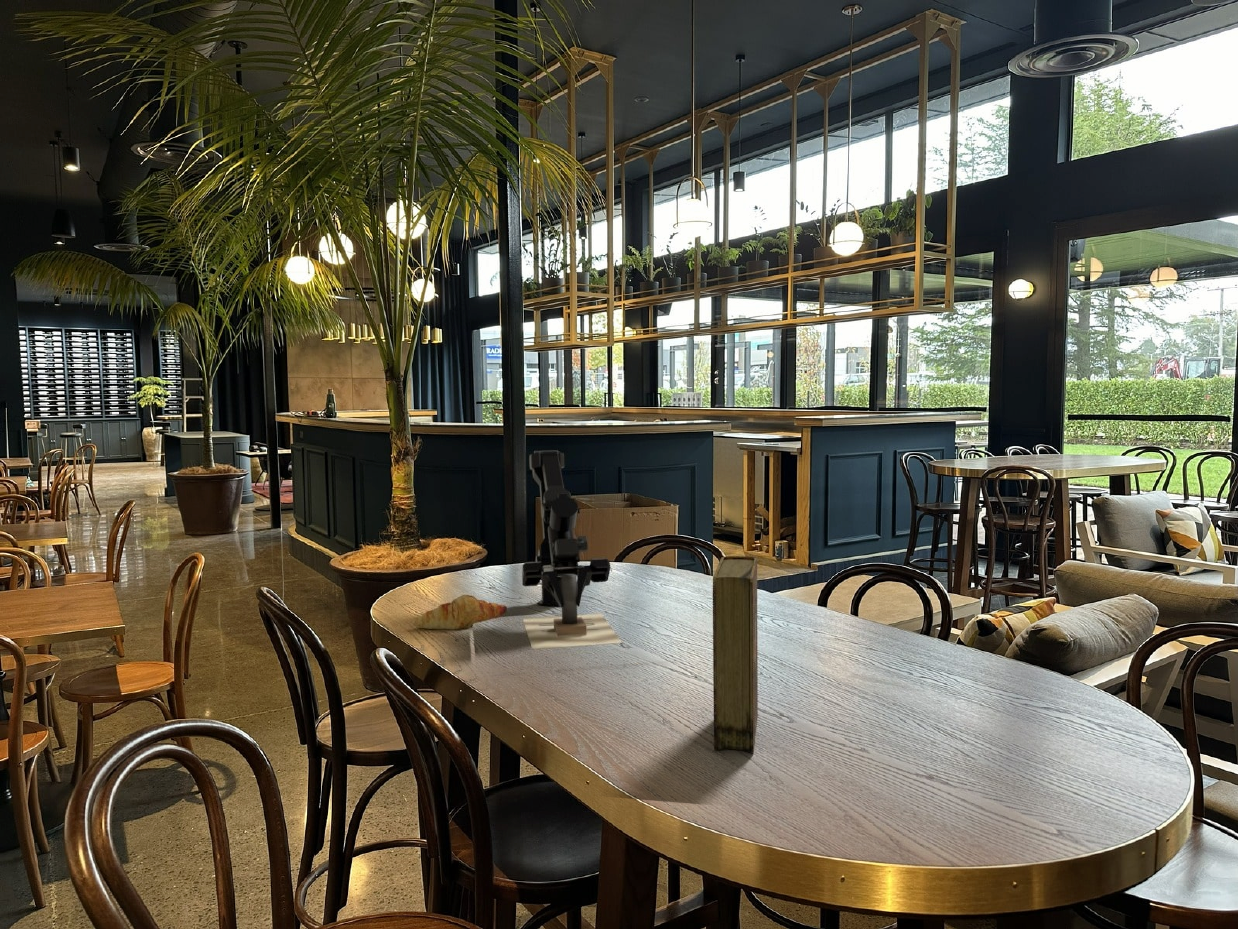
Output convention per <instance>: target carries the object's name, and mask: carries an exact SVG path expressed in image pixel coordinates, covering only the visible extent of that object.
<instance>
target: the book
mask: <svg viewBox="0 0 1238 929" xmlns="http://www.w3.org/2000/svg"><path fill="white" fill-rule="evenodd" d="M712 654H713V655H712V659H713V660H712V666H713V667H712V672H713V673H712V674H713V675H712V676H713V679H712V680H713V683H712V684H713V692H712V694H713V750H714V751H720V750H730V749H731V750H739V751H744V752H748V753H752V754H754V753H755V743H756V737H757V725H758V717H759V716H758V714H759V709H758V706H759V705H758V704H759V703H758V701H759V700H758V699H759V698H758V696H759V694H758V693H759V692H758V690H759V689H758V683H759V682H758V680H759V679H758V678H759V677H758V676H759V675H758V668H759V667H758V660H759V659H758V557H754V556H747V555H746V556H745V555H731V556H730V555H728V556H722V557H721V558H720V559H719V562H718V565H717V566H716V569H715V571H714V574H713V576H712ZM755 736H756V737H755Z"/></svg>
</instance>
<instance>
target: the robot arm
mask: <svg viewBox="0 0 1238 929" xmlns="http://www.w3.org/2000/svg"><path fill="white" fill-rule="evenodd" d="M528 458H529V470H531V471H532V478H533V479H534V481H535V482H536V484H537V485H538V486H539V494H540V497H539V498H540V516H541V524H542V538H543V539H542V541H541V544H540V545H539V547H538V550H537V555H536V556H535V561H526V562H524V563H523V564H522V567H521V568H522V569H521V584H522V586H524V587H536V586H538V585H539V584H540V583H541V599H540V600H539V601H537V603H536V605H537V604H540V605H539V606H550V605H553V606H554V607H560V608H561V609H562V607H563V601H562V591H561V575H564V574H575V575H576V580H577V607H580V604H581V601H582V600H581V599H582V595H583V592H584V590H585V588H586V587H588V586H590V585H591V582H592V583H606V582H607V581H609V576H610V573H611V572H610V571H611V563H610V560H609V559H608V558H607V557H600V558H599V557H598V558H590V562H589V565H584V564H581V565H580V564H579V563H580V560H581V557H580V553H587V551H588V548H589V545H588V544H589V543H588V538H587V535H577V537H575V531H574V529H575V527H576V523H577V517H578V514H580V513H581V512H580V509H581V508H580V507H579V505H578V503H577V502H576V501H575V500H574V499H573V498H572V496H571V492H570V491H569V490H567V489H566V488H565V485H564V481H563V479H564V478H563V474H562V469H564V468H565V453H563V452H560V450H534V451H533V453H530V454H529V457H528Z"/></svg>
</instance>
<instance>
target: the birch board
mask: <svg viewBox="0 0 1238 929" xmlns="http://www.w3.org/2000/svg"><path fill="white" fill-rule="evenodd" d="M577 617H582V619H583V621H584V622H585V624H586V631H587V635H580V636H566V637H558V636H557V634H556V632H555V630H554V619H562V615H560V616H559V615H557V616H545V617H544V616H543V617H530V618H522V622H523V624H524V628H525V630H526V634H527V636H528V640H529V643H530V645H531V649H532V650H541V649H542V650H543V649H555V648H556V649H559V648H570V647H572V648H573V647H584V646H585V647H588V646H598V645H614V644H623V642H622V641H621V639H620V638H619V636H618V635H617V633H616V632H615V631H614V629H613V628H612V627H611V625H610V624H609V622H608V621H607V619H606V618H605V617H604V615H603V614H602V613H589V614H577Z"/></svg>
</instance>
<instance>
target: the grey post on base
mask: <svg viewBox="0 0 1238 929" xmlns="http://www.w3.org/2000/svg"><path fill="white" fill-rule="evenodd" d="M561 591H562V601H563V607H562V608H561V616H562V619H554V630H555V632H556V634H557V636H558V637H566V636H580V635H587V631H586V624H585V622H584V621H583V619H582V617H577V615H578V606H577V576H576V575H575V574H564V575H561Z"/></svg>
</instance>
